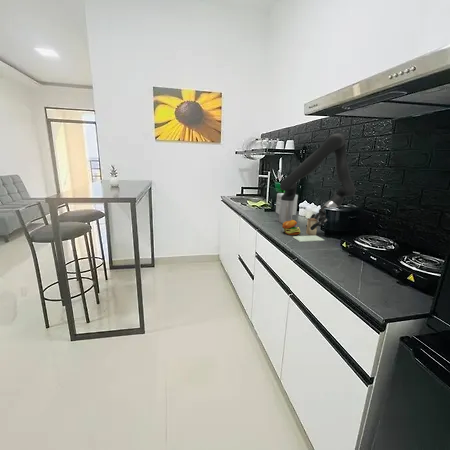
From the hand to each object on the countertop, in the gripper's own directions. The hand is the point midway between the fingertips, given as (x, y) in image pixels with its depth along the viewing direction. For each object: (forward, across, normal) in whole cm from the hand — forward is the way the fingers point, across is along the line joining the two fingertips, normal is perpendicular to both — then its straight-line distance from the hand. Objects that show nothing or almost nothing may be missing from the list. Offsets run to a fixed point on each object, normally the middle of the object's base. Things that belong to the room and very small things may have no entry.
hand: (309, 228), depth 159 cm
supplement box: (-7, -61, +13) cm, 63 cm away
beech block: (+2, 0, +4) cm, 5 cm away
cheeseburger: (+11, -3, -4) cm, 12 cm away
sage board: (+7, +9, -1) cm, 11 cm away
